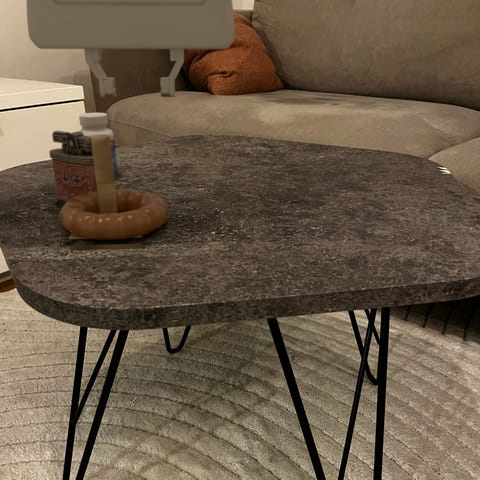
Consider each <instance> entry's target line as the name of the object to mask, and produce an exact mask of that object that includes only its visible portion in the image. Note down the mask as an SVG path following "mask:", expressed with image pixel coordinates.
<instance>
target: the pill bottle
mask: <svg viewBox="0 0 480 480" xmlns="http://www.w3.org/2000/svg"><path fill="white" fill-rule="evenodd" d="M78 117H79V126H81V129H79V130H78V131H80V132H82V133H83V135H84V136H90V137H91V136H93V135H100V134H104V135H109V136H110V144H111V153H112V162H113V172H114V175H116V174H117V173H118V166H117V165H118V164H117V156H116V155H117V154H116V145H115V135H114V131H113V130H111V128H108V124H109V120H108V119H109V118H108V114H107V113H105V112H85V113H80V114H79V115H78ZM92 152H93V151H92Z"/></svg>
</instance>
